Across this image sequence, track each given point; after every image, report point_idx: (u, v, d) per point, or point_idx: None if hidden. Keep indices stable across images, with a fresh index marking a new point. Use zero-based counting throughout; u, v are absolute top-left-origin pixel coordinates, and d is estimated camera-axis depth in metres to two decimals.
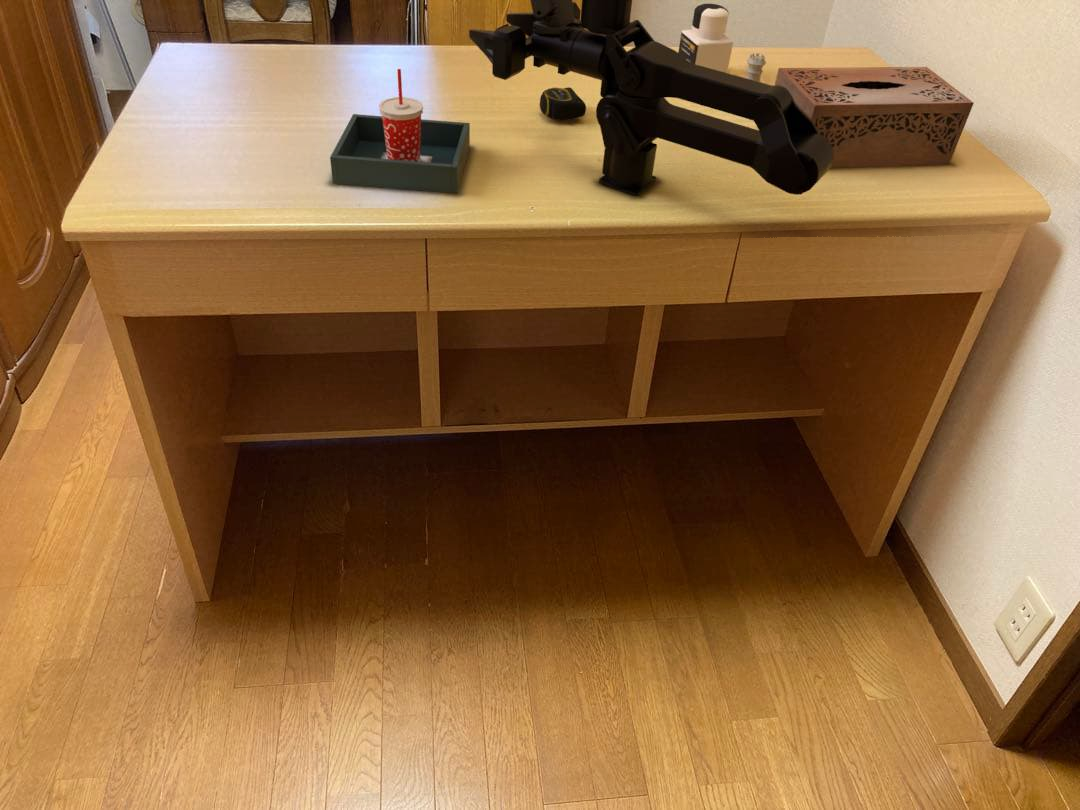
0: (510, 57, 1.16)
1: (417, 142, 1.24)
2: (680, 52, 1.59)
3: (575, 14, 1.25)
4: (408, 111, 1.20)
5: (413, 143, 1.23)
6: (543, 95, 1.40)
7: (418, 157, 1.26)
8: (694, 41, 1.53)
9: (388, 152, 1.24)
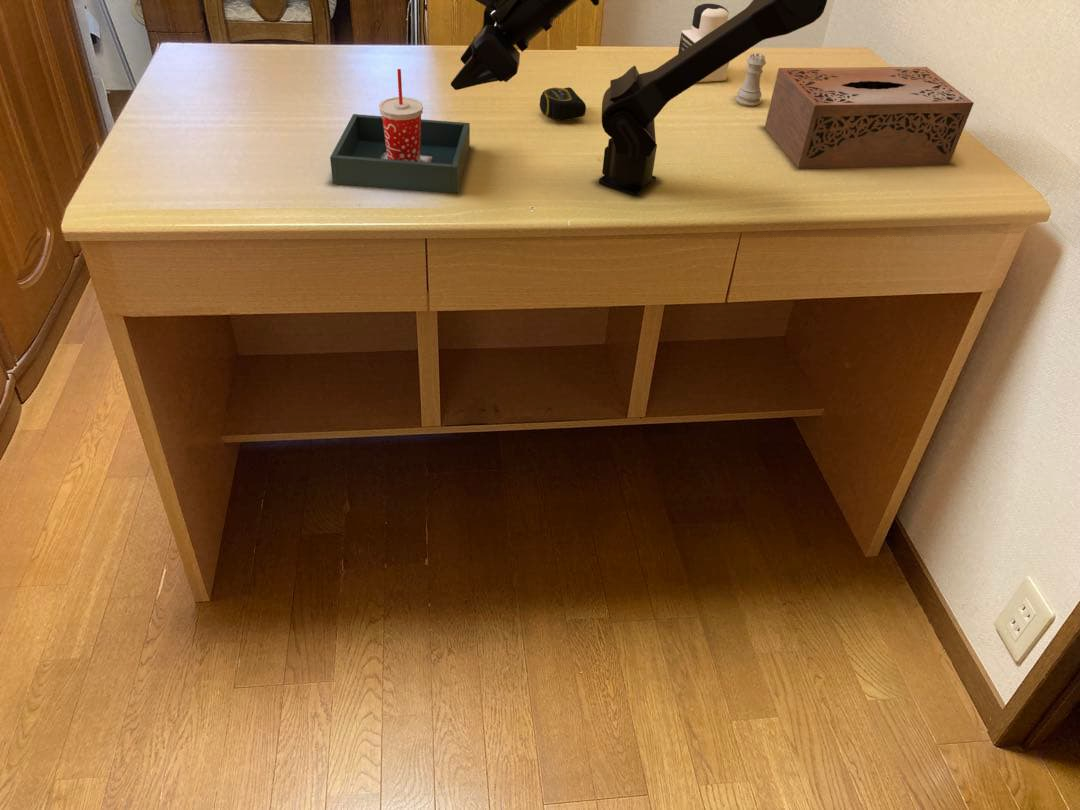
0: (504, 49, 1.07)
1: (417, 142, 1.24)
2: (680, 52, 1.59)
3: None
4: (408, 111, 1.20)
5: (413, 143, 1.23)
6: (543, 95, 1.40)
7: (418, 157, 1.26)
8: (694, 41, 1.53)
9: (388, 152, 1.24)
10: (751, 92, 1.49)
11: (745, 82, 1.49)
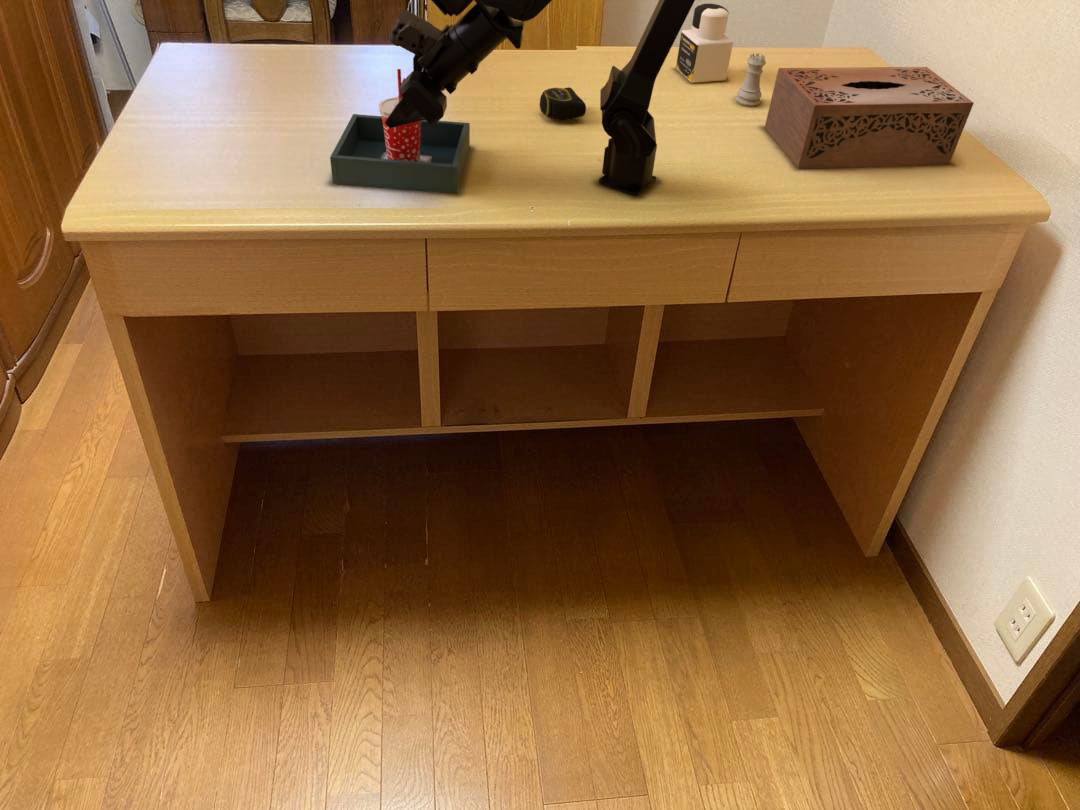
0: (429, 94, 1.11)
1: (417, 142, 1.24)
2: (680, 52, 1.59)
3: None
4: None
5: (413, 143, 1.23)
6: (543, 95, 1.40)
7: (418, 157, 1.26)
8: (694, 41, 1.53)
9: (388, 152, 1.24)
10: (751, 92, 1.49)
11: (745, 82, 1.49)
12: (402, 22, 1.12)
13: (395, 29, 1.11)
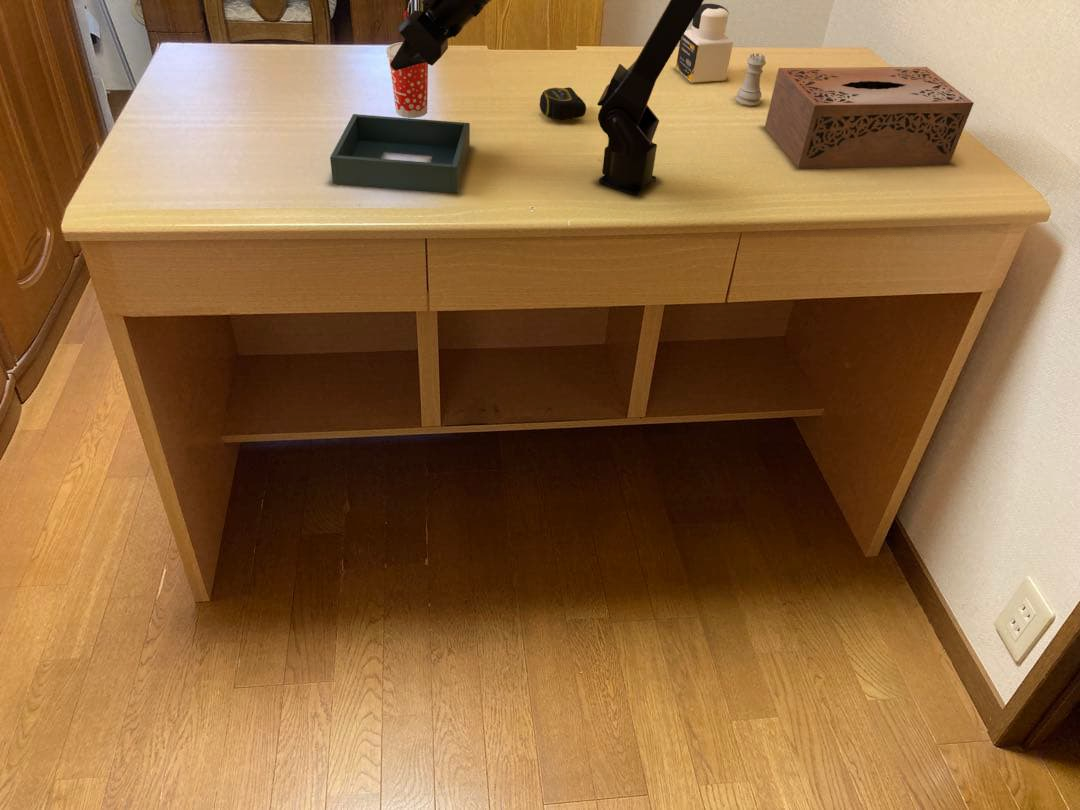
0: (427, 33, 1.11)
1: (423, 87, 1.24)
2: (680, 52, 1.59)
3: None
4: None
5: (419, 88, 1.23)
6: (543, 95, 1.40)
7: (425, 103, 1.26)
8: (694, 41, 1.53)
9: (395, 97, 1.25)
10: (751, 92, 1.49)
11: (745, 82, 1.49)
12: None
13: None
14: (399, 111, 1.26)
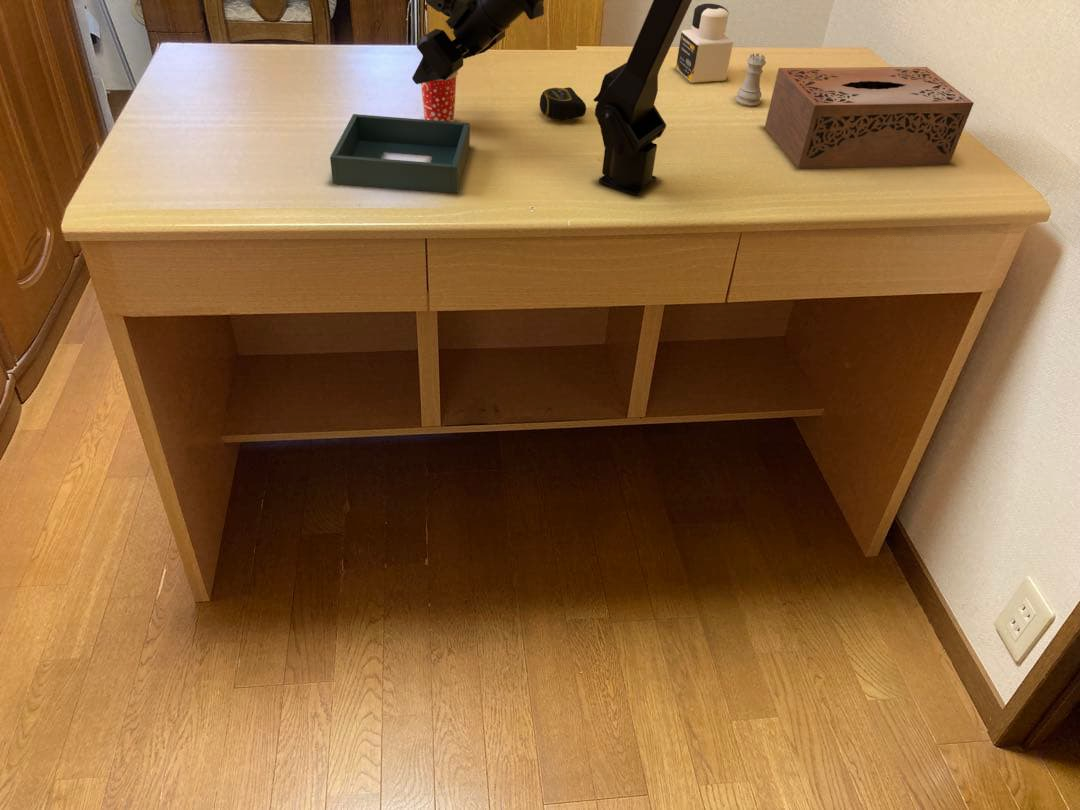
0: (440, 50, 1.21)
1: (448, 103, 1.34)
2: (680, 52, 1.59)
3: None
4: None
5: (443, 103, 1.34)
6: (543, 95, 1.40)
7: (450, 118, 1.36)
8: (694, 41, 1.53)
9: None
10: (751, 92, 1.49)
11: (745, 82, 1.49)
12: None
13: None
14: None
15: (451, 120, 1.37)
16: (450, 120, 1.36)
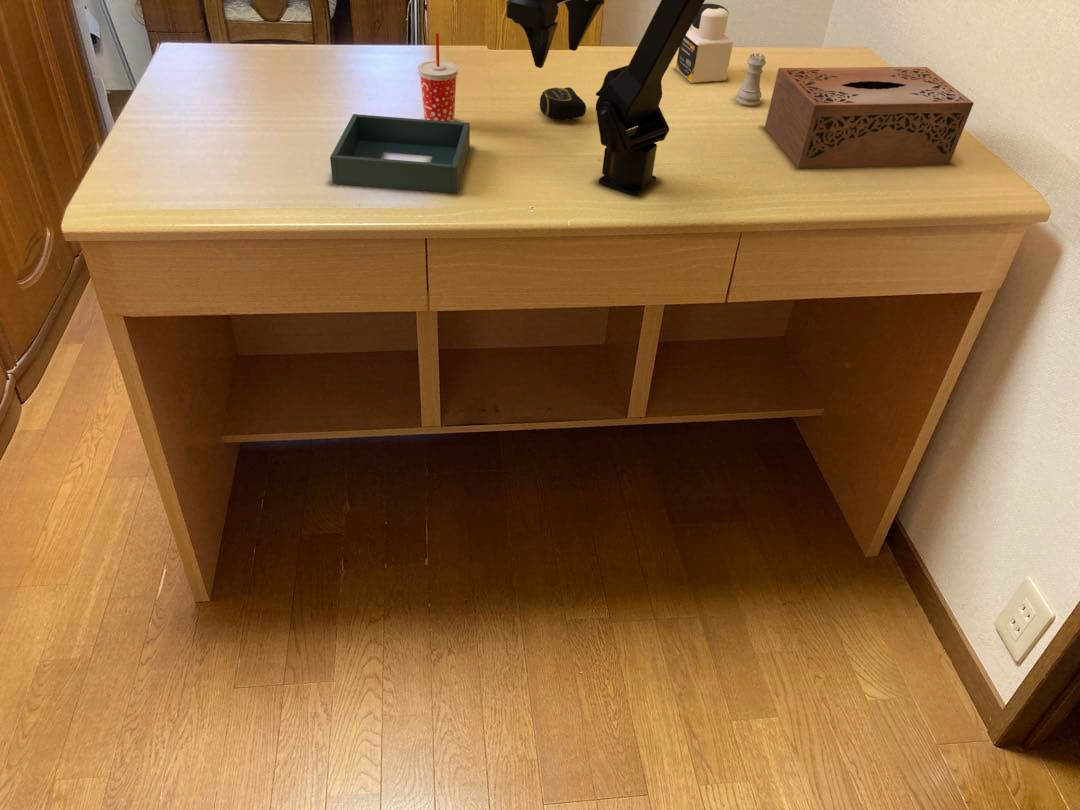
0: (524, 0, 1.15)
1: (448, 103, 1.34)
2: (680, 52, 1.59)
3: None
4: (440, 73, 1.31)
5: (443, 103, 1.34)
6: (543, 95, 1.40)
7: (450, 118, 1.36)
8: (694, 41, 1.53)
9: None
10: (751, 92, 1.49)
11: (745, 82, 1.49)
12: None
13: None
14: None
15: (451, 120, 1.37)
16: (450, 120, 1.36)
